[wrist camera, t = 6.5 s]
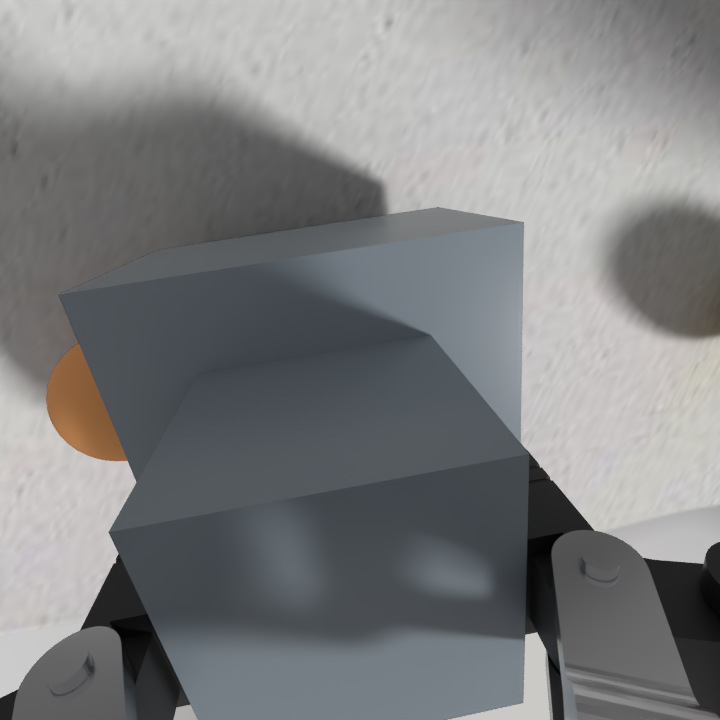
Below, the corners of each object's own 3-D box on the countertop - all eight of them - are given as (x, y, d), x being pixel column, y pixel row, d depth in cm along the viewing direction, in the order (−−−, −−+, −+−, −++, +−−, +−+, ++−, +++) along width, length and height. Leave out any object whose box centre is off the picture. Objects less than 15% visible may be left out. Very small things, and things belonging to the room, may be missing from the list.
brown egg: (178, 333, 14) (1, 381, 13) (219, 455, 16) (72, 510, 15) (169, 303, 19) (35, 335, 17) (203, 402, 21) (87, 441, 19)
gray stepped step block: (437, 207, 16) (721, 257, 5) (451, 439, 20) (627, 745, 9) (159, 249, 15) (-196, 407, 4) (230, 479, 19) (134, 858, 8)
